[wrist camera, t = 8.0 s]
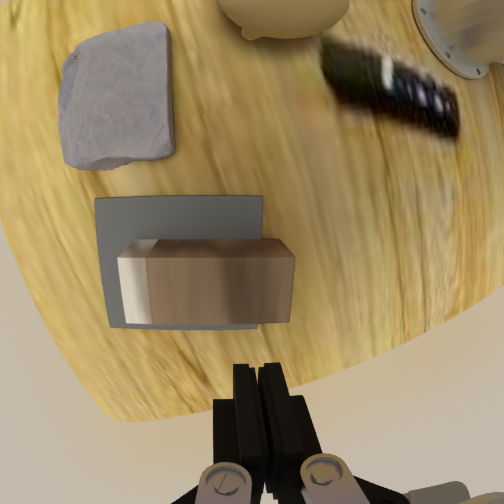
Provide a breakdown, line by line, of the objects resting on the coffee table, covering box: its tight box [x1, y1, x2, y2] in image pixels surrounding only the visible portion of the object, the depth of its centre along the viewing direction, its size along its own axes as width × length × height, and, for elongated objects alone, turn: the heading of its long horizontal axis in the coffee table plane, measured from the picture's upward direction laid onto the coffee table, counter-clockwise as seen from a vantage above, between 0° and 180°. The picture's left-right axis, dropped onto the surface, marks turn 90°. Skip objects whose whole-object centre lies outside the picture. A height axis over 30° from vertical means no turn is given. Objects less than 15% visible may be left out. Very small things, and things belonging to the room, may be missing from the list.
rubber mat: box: [94, 195, 263, 330], centre depth 25 cm, size 14×12×1 cm
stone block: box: [58, 21, 175, 170], centre depth 19 cm, size 12×5×10 cm
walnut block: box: [117, 239, 295, 325], centre depth 22 cm, size 5×5×12 cm
